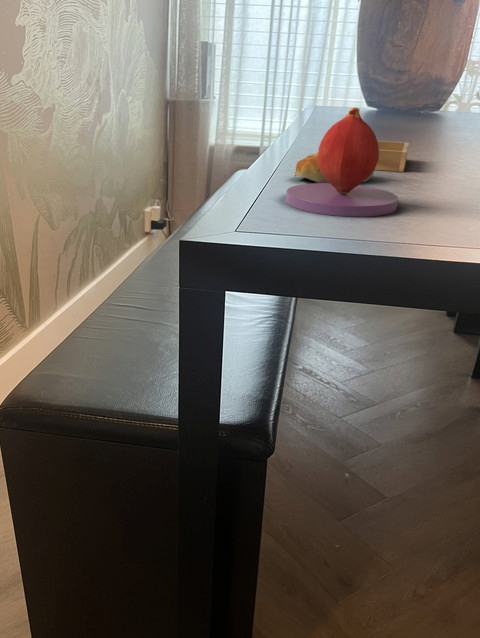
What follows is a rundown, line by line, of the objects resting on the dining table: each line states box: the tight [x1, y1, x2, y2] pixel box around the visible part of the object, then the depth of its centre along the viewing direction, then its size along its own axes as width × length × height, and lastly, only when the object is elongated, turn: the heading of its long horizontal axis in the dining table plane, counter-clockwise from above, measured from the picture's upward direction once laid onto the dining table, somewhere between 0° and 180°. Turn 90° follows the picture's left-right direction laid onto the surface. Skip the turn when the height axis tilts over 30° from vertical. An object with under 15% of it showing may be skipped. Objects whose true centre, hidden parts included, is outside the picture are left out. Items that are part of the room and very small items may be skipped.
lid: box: [285, 182, 399, 218], centre depth 61 cm, size 11×11×1 cm
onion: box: [317, 106, 379, 194], centre depth 59 cm, size 6×6×8 cm
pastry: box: [294, 152, 375, 183], centre depth 72 cm, size 9×7×4 cm
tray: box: [374, 140, 410, 173], centre depth 84 cm, size 10×10×2 cm
